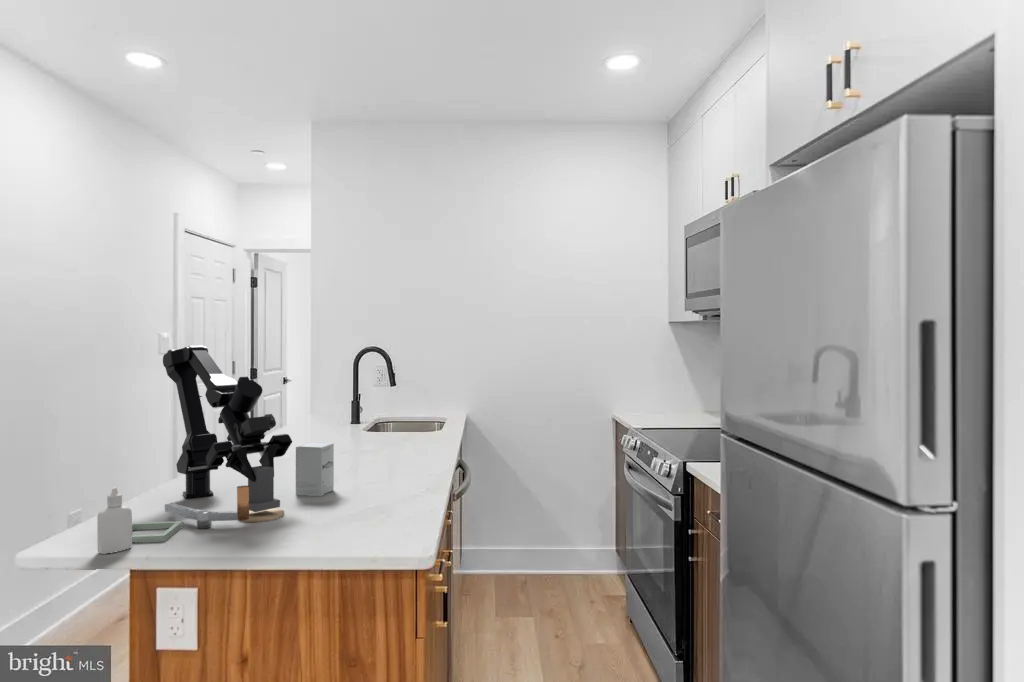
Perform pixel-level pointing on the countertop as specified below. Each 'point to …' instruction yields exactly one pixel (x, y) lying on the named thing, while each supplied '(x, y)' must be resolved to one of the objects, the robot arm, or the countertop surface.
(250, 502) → the plug
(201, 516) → the grey rod with hub
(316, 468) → the supplement box
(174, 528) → the socket frame
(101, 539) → the eye dropper bottle
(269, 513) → the coaster
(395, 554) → the countertop surface
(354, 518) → the countertop surface
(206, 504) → the countertop surface
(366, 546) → the countertop surface
